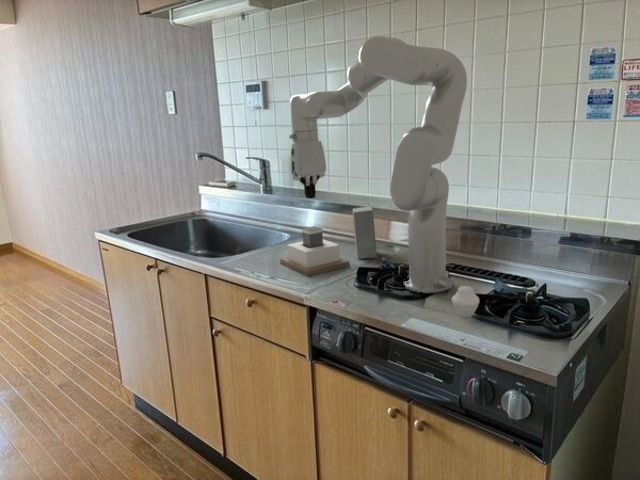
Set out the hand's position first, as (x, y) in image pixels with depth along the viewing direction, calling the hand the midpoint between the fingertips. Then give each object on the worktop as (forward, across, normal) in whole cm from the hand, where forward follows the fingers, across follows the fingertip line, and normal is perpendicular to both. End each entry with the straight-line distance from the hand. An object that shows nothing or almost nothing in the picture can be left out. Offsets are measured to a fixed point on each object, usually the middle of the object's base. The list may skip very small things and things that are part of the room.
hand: (310, 197), depth 157 cm
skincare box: (+22, +18, -2) cm, 28 cm away
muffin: (+23, +6, -57) cm, 62 cm away
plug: (+19, 0, +1) cm, 19 cm away
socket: (+22, 0, +1) cm, 22 cm away
